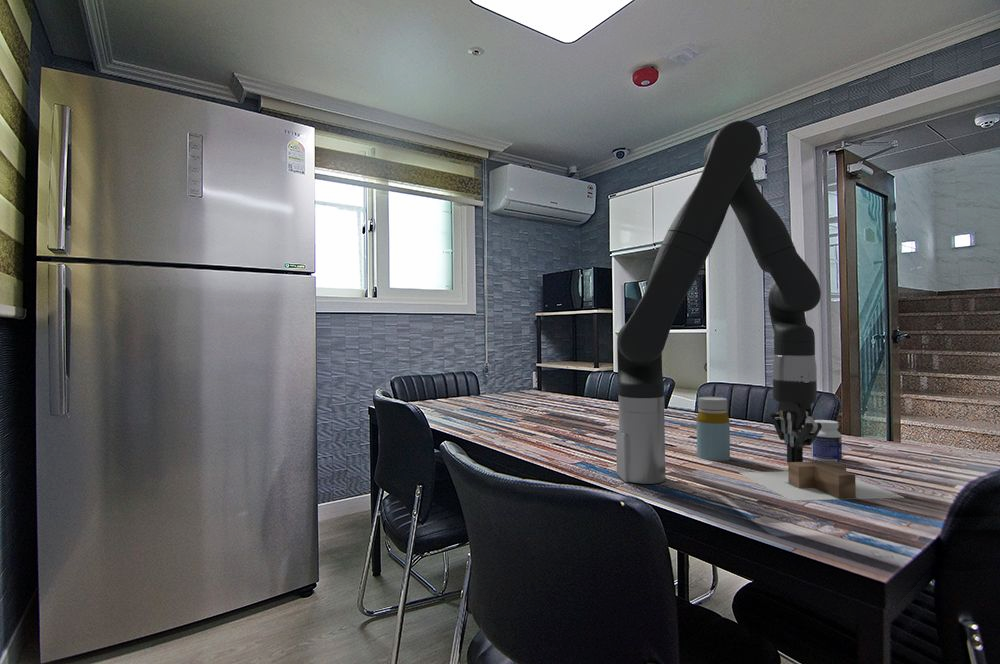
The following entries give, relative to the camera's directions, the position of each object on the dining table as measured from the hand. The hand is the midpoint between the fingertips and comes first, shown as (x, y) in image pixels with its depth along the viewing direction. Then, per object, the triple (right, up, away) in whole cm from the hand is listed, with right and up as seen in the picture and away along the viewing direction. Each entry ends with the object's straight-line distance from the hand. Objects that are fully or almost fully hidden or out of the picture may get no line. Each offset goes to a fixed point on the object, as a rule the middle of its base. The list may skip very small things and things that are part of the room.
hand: (794, 464), depth 98 cm
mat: (0, -4, -5) cm, 6 cm away
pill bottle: (+15, -4, +13) cm, 20 cm away
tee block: (0, -2, -9) cm, 10 cm away
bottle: (-9, -4, +16) cm, 19 cm away
